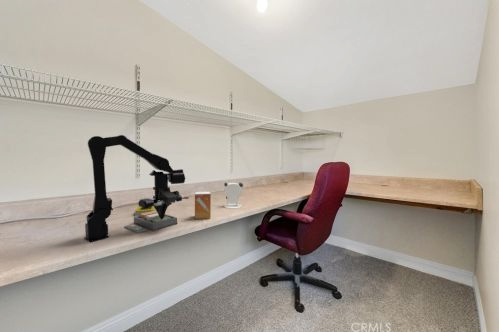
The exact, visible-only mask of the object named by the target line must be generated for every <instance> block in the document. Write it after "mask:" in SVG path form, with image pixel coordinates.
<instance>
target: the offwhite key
mask: <svg viewBox="0 0 499 332" xmlns="http://www.w3.org/2000/svg"><path fill="white" fill-rule="evenodd" d="M157 218H160V217H159V215H158V213H156V214H152V215H148V216H146V220H148V221H149V220H153V219H157Z"/></svg>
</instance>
